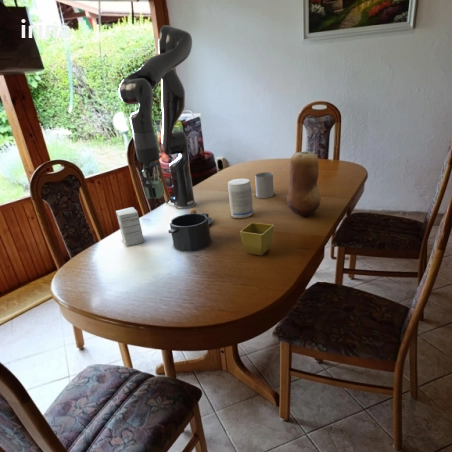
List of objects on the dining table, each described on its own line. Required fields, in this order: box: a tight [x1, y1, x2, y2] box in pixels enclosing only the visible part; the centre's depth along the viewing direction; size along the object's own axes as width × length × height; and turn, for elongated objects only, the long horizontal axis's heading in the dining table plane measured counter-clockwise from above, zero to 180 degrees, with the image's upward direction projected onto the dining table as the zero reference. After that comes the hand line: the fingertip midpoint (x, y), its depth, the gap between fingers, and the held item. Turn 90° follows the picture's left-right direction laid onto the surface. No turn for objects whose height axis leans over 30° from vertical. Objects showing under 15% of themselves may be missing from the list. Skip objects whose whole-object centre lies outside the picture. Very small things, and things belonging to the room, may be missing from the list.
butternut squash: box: [286, 150, 322, 218], centre depth 161 cm, size 14×13×25 cm
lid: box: [189, 207, 213, 226], centre depth 168 cm, size 15×15×7 cm
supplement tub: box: [227, 178, 254, 219], centre depth 170 cm, size 10×10×15 cm
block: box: [144, 179, 165, 200], centre depth 143 cm, size 5×5×5 cm
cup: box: [254, 171, 275, 199], centre depth 192 cm, size 8×8×10 cm
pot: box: [167, 212, 212, 253], centre depth 150 cm, size 14×19×10 cm
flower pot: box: [239, 221, 275, 256], centre depth 138 cm, size 9×9×9 cm
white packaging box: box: [115, 206, 145, 247], centre depth 157 cm, size 7×7×13 cm
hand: (155, 195), depth 144 cm, fingers closed on block, 5 cm apart
